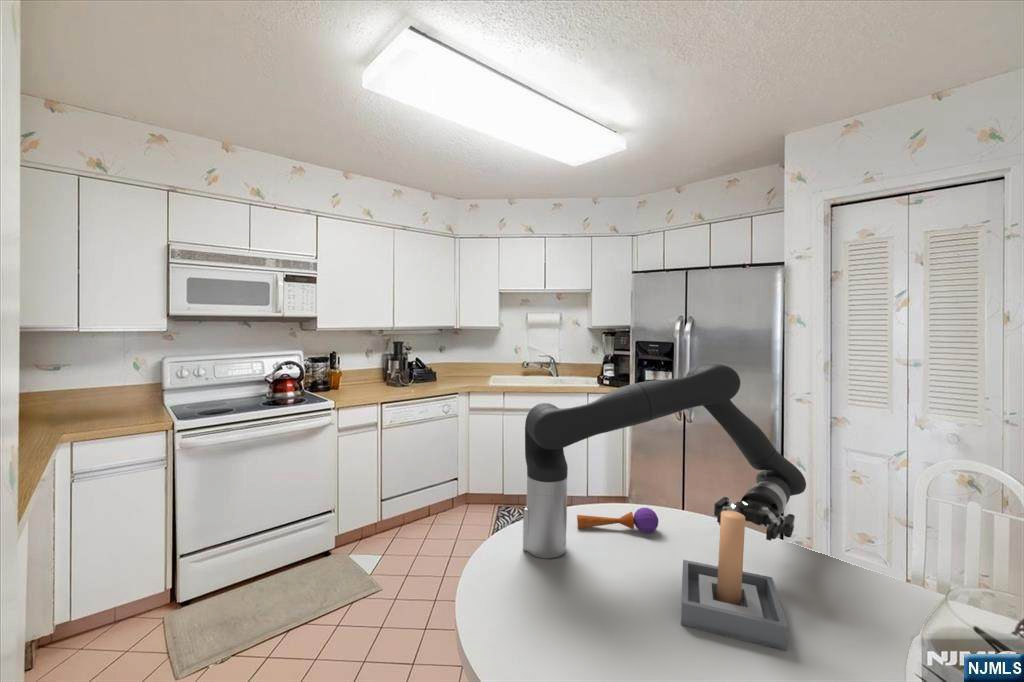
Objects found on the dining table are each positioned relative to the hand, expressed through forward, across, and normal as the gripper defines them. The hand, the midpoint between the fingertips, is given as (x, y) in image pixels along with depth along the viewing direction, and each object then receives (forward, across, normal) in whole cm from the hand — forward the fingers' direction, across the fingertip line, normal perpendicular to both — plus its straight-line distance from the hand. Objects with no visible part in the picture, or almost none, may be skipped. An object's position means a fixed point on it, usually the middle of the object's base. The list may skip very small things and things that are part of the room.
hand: (744, 528), depth 88 cm
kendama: (-6, -30, +13) cm, 34 cm away
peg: (+8, 0, +12) cm, 14 cm away
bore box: (+8, 0, +13) cm, 15 cm away
